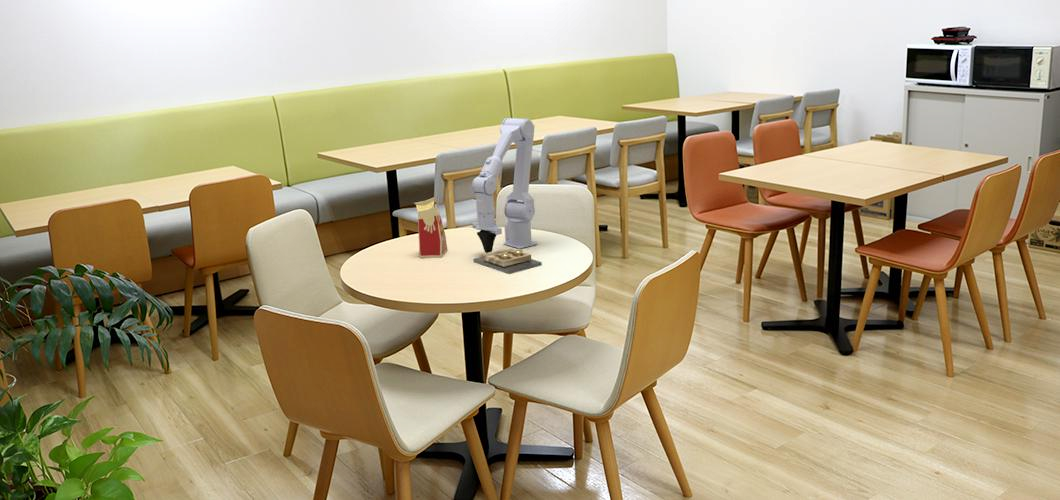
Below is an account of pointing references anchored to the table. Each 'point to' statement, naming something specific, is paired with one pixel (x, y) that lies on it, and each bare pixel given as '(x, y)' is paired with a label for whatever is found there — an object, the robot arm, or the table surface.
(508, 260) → the panel
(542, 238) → the table surface
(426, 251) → the red snack bag
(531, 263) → the silver double slider board
